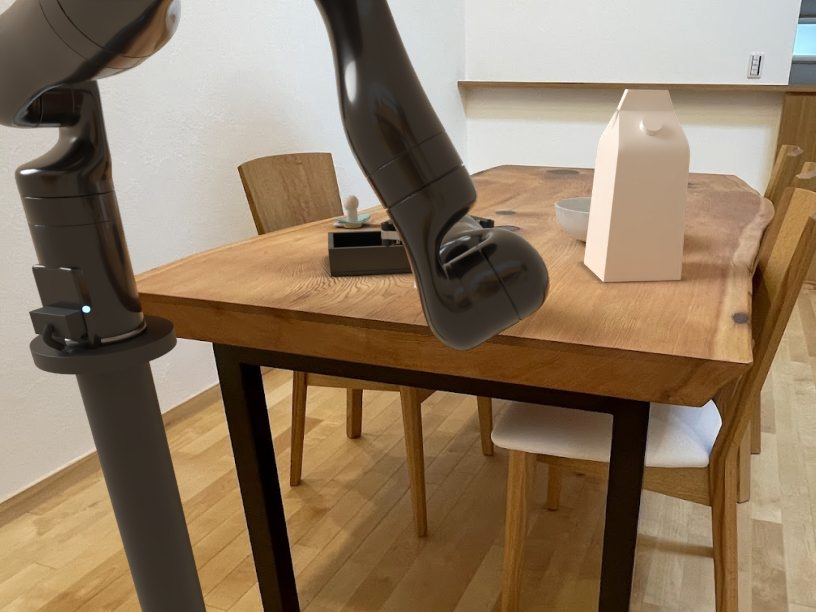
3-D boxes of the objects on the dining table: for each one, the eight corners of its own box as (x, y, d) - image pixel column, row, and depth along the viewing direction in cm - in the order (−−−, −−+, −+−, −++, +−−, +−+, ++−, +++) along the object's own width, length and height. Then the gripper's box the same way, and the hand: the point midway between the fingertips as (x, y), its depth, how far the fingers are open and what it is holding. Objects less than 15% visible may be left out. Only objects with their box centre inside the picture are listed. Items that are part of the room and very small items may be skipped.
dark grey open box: (415, 272, 101) (414, 245, 99) (330, 276, 98) (328, 249, 96) (406, 253, 112) (405, 229, 110) (330, 257, 109) (327, 232, 107)
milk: (654, 261, 109) (672, 90, 99) (680, 279, 99) (704, 90, 88) (583, 263, 108) (594, 88, 97) (603, 282, 97) (617, 89, 87)
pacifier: (327, 226, 133) (341, 230, 129) (324, 194, 131) (337, 197, 126) (360, 222, 137) (374, 226, 133) (358, 191, 135) (371, 194, 131)
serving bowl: (669, 258, 111) (674, 217, 109) (546, 252, 115) (547, 211, 112) (665, 234, 130) (669, 198, 127) (559, 229, 133) (561, 194, 131)
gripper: (516, 209, 68) (481, 186, 83) (380, 212, 65) (370, 188, 80) (515, 280, 71) (481, 246, 86) (384, 286, 68) (374, 249, 83)
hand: (428, 218), depth 83 cm, fingers closed
